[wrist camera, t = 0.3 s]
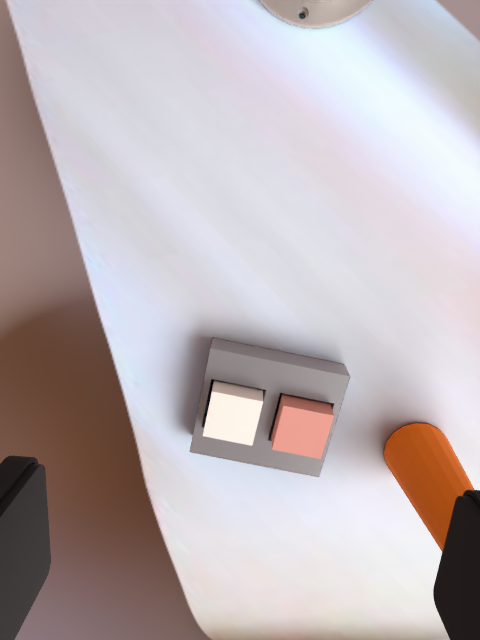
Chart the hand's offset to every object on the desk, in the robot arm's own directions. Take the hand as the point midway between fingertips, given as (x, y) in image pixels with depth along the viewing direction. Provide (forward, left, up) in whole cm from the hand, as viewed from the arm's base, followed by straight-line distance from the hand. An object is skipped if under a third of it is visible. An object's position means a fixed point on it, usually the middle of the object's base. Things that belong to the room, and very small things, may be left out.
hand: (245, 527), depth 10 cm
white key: (+15, +1, -33) cm, 36 cm away
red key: (+15, +8, -33) cm, 37 cm away
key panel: (+15, +5, -35) cm, 39 cm away
